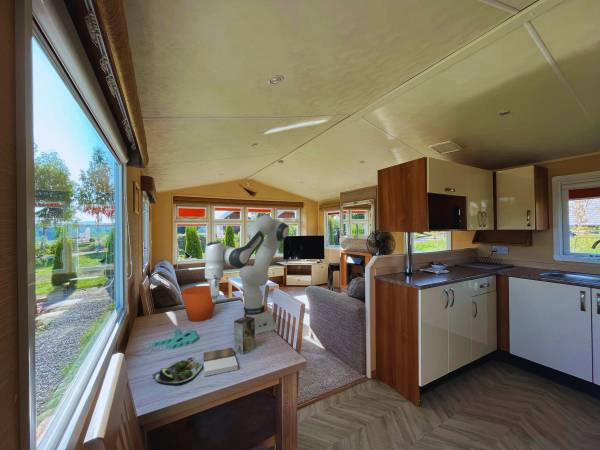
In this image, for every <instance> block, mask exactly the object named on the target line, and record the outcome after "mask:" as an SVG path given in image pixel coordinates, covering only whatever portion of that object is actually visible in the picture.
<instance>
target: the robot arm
mask: <svg viewBox="0 0 600 450" xmlns="http://www.w3.org/2000/svg"><path fill="white" fill-rule="evenodd" d="M245 232H246V237H248V240H247V242H246V243H245V244H244V245H243V246H241V247H234V246H233V247H232V246H229V245H226V244H224V243H223V242H222V241H221V240H216V241H210V242H208V243H207V244H206V246H205V248H204V262H205V266H204V278H205V279H207V280H206V281H207V282H208V286H209V287H210V292H211V297H212V302H217V298H218V297H219V296H220V281H221V278H224V266H231V267H234V268H241V269H240V270H239V274H238V275H239V277H240V280H241V284H242V288H243V289H242V290H243V294H244V295H243V296H244V298H243V299H244V306H243V317H245V316H248V317H252V318H255V335H258V334H262V333H263V334H264V333H267V332H271V331H276V330H277V329H279V326H278V323H277V322H276V321H275V319H274V316H273V315H272V314H270V313H269V312H268V308H267V306H265V305H264V304H263V291H262V290H261V287H262V286H265V285H266V284H267V283H268V281H269V268H270V265H271V262H272V261H273V259H274V257H275V255H276V253H277V252H278V250H279V247H280V244H281V241H282V240H284V239H286V238H287V236H288V235H289V232H290V227H289V225H288V224H286V223H284V222H282V221H280V220H278V219H273V217H272V216H270V215H269V214H263V215H260V216H259V217H257V218H256V219H255V220H253V221H252V222H251V223H250V224H249V225H248V226H247V227H246V231H245ZM264 237H266V238H264ZM256 250H257V251H256ZM255 251H256V253H255ZM254 253H255V255H254V258H255V260H254V264H253V265H247V264H248V262H249V261H250V259H251V257H252V255H253V254H254ZM216 297H217V298H216Z"/></svg>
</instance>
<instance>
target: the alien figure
mask: <svg viewBox="0 0 600 450" xmlns="http://www.w3.org/2000/svg"><path fill="white" fill-rule="evenodd" d="M173 333H174V335H175V336H173V337H171V338H166V339H160V340H159V341H153V342H152V343H151V347H152V348H155V347H157V345H158V346H163V345H165V348H166V349H170V348H171V349H172V350H174V349H176V348H181V347H183V346H184V345H186V346H188V345H193V344H195V343H196V342H197V341H199V340H200V335H199V333H198V332H197V330H195V329H188V330H187V331H186V332H184V333H182V332H181V329H180V328H175V329H174V330H173ZM198 339H199V340H198ZM194 342H195V343H194ZM187 344H188V345H187ZM180 346H181V347H180ZM171 349H170V350H171Z"/></svg>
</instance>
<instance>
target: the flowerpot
mask: <svg viewBox="0 0 600 450" xmlns="http://www.w3.org/2000/svg"><path fill="white" fill-rule="evenodd" d="M180 293H181V296H182V301H183V305H184V308H185V311H186V312H185V313H186V316H187V320H188V321H189V322H193V323H200V322H205V321H208V320H210V319H212V318H213V315H214V311H215V306H216V302H217V301H216V302H212V297H211V292H210V287H209V285H197V286H191V287H187V288H183V289H182V290H181V291H180ZM217 298H218V297H216V299H217Z"/></svg>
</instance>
